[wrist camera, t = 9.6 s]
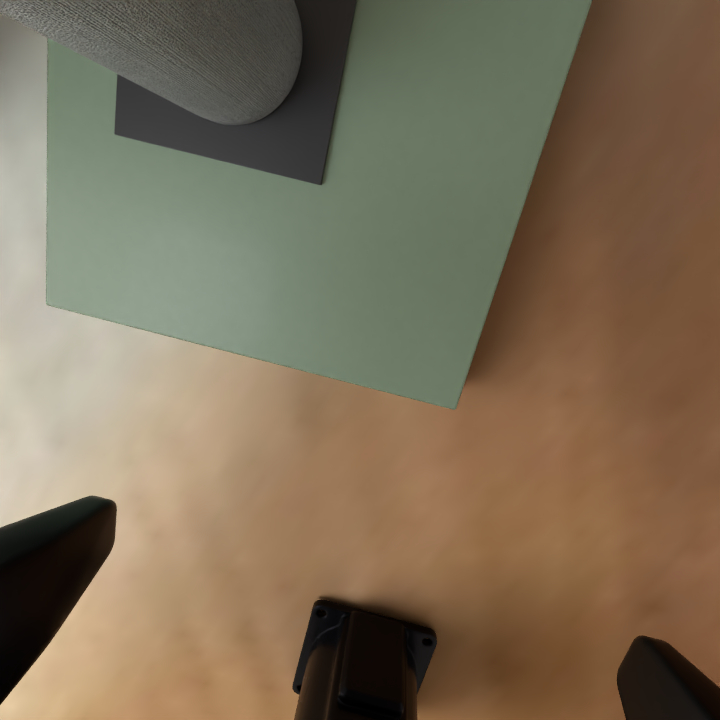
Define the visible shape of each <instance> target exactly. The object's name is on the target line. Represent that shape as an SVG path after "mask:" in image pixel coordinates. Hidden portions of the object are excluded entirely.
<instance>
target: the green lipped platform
mask: <svg viewBox="0 0 720 720" xmlns="http://www.w3.org/2000/svg"><path fill="white" fill-rule="evenodd" d="M294 2H295V4H296V7H297V10H298V14H299V17H300V22H301V28H302V39H303V46H302V58H301V63H300V67H299V71H298V74H297V77H296V80H295V82H294V84H293V86H292V88H291V90H290V92H289V93H288V95H287V96H286V98H285V99H284V100H283V102H282V103H281V104H280V105H279V106H278V107H277V108H276V109H275V110H274V111H272V112H271V113H270V114H268V115H267V116H265V117H264V118H262V119H260V120H258V121H255V122H252V123H249V124H244V125H224V124H219V123H216V122H213V121H210V120H208V119H205V118H202V117H200V116H198V115H196V114H194V113H192V112H190V111H188V110H186V109H184V108H182V107H180V106H178V105H176V104H175V103H173V102H171V101H169V100H167V99H165V98H163V97H161V96H159V95H157V94H155V93H153V92H151V91H149V90H148V89H146V88H144V87H142V86H140V85H138V84H136V83H134V82H132V81H130V80H128V79H126V78H124V77H122V76H121V75H119V74H117V73H115V72H113V71H111V70H109V69H107V68H105V67H103V66H101V65H99V64H97V63H95V62H94V61H92V60H90V59H88V58H86V57H84V56H82V55H80V54H78V53H76V52H74V51H72V50H70V49H68V48H67V47H65V46H63V45H61V44H59V43H57V42H55V41H53V40H51V39H49V38H48V74H47V246H46V304H47V305H49V306H52V307H56V308H60V309H64V310H68V311H72V312H76V313H80V314H84V315H87V316H91V317H95V318H99V319H103V320H107V321H111V322H115V323H119V324H122V325H126V326H130V327H134V328H138V329H142V330H146V331H150V332H154V333H158V334H161V335H165V336H169V337H173V338H177V339H181V340H185V341H189V342H193V343H196V344H200V345H204V346H208V347H212V348H216V349H220V350H224V351H228V352H231V353H235V354H239V355H243V356H247V357H251V358H255V359H259V360H263V361H267V362H270V363H274V364H278V365H282V366H286V367H290V368H294V369H298V370H302V371H305V372H309V373H313V374H317V375H321V376H325V377H329V378H333V379H337V380H340V381H344V382H348V383H352V384H356V385H360V386H364V387H368V388H372V389H376V390H379V391H383V392H387V393H391V394H395V395H399V396H403V397H407V398H411V399H414V400H418V401H422V402H426V403H430V404H434V405H438V406H442V407H446V408H450V409H453V410H455V409H456V407H457V404H458V401H459V398H460V395H461V392H462V389H463V386H464V383H465V380H466V377H467V374H468V371H469V368H470V365H471V362H472V359H473V356H474V353H475V350H476V347H477V344H478V341H479V338H480V335H481V333H482V330H483V327H484V324H485V321H486V318H487V315H488V312H489V309H490V306H491V303H492V300H493V297H494V294H495V291H496V288H497V285H498V282H499V279H500V276H501V273H502V270H503V267H504V264H505V261H506V258H507V255H508V252H509V249H510V246H511V243H512V240H513V237H514V234H515V231H516V228H517V225H518V222H519V219H520V216H521V213H522V210H523V207H524V204H525V201H526V198H527V195H528V192H529V189H530V186H531V183H532V180H533V177H534V174H535V171H536V168H537V165H538V162H539V159H540V156H541V153H542V150H543V147H544V144H545V141H546V138H547V135H548V132H549V129H550V126H551V123H552V120H553V117H554V114H555V111H556V108H557V105H558V102H559V99H560V96H561V93H562V90H563V87H564V84H565V81H566V78H567V75H568V72H569V69H570V66H571V63H572V60H573V57H574V54H575V51H576V48H577V45H578V42H579V39H580V36H581V33H582V30H583V27H584V24H585V21H586V18H587V15H588V12H589V9H590V6H591V3H592V0H294Z"/></svg>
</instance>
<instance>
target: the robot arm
mask: <svg viewBox="0 0 720 720" xmlns="http://www.w3.org/2000/svg"><path fill="white" fill-rule="evenodd" d="M116 512H117V507H116V503H115V502H114V501H112V500H109V499H105V498H102V497H98V496H88V497H85V498H82V499H79V500H76V501H74V502H71V503H68V504H65V505H62V506H60V507H57V508H54V509H51V510H48V511H46V512H43V513H40V514H37V515H34V516H32V517H29V518H26V519H23V520H20V521H18V522H15V523H12V524H9V525H6V526H4V527H1V528H0V705H1V703H2V702H3V701H4V700H5V698H6V697H7V696H8V695H9V693H10V692H11V691H12V690H13V688H14V687H15V686H16V685H17V684H18V682H19V681H20V680H21V679H22V677H23V676H24V675H25V674H26V672H27V671H28V670H29V669H30V667H31V666H32V665H33V664H34V662H35V661H36V660H37V659H38V657H39V656H40V655H41V653H42V652H43V651H44V650H45V648H46V647H47V646H48V644H49V643H50V642H51V640H52V639H53V637H54V636H55V634H56V633H57V632H58V630H59V629H60V627H61V626H62V624H63V623H64V621H65V620H66V618H67V617H68V615H69V614H70V612H71V611H72V609H73V608H74V606H75V605H76V603H77V602H78V600H79V599H80V597H81V596H82V594H83V593H84V591H85V590H86V588H87V587H88V585H89V584H90V582H91V581H92V579H93V578H94V576H95V575H96V573H97V572H98V570H99V569H100V567H101V566H102V564H103V563H104V561H105V560H106V558H107V557H108V555H109V554H110V552H111V550H112V547H113V545H114V540H115V527H116ZM321 610H324V611H321ZM425 638H429V639H425ZM436 645H437V636H436V633H435V631H434V630H433V629H431V628H428V627H424V626H420V625H417V624H413V623H409V622H405V621H402V620H398V619H394V618H391V617H387V616H383V615H379V614H376V613H372V612H368V611H365V610H361V609H357V608H353V607H350V606H346V605H342V604H339V603H335V602H331V601H327V600H322V599H321V600H317V601H316V602H315V603H314V605H313V609H312V613H311V617H310V621H309V624H308V628H307V632H306V636H305V640H304V644H303V647H302V651H301V655H300V659H299V663H298V666H297V670H296V674H295V678H294V682H293V690H294V692H295V693H297V694H299V695H300V696H299V700H298V705H297V709H296V713H295V718H294V720H417V693H418V691H419V688H420V686H421V683H422V681H423V678H424V676H425V673H426V670H427V668H428V665H429V663H430V660H431V658H432V655H433V653H434V650H435V647H436ZM617 686H618V690H619V694H620V698H621V702H622V706H623V710H624V713H625V717H626V720H720V688H719V687H718V686H717V685H716V684H715V683H713V682H712V681H711V680H710V679H709V678H708V677H707V676H705V675H704V674H703V673H702V672H701V671H700V670H699V669H697V668H696V667H695V666H694V665H693V664H692V663H691V662H689V661H688V660H687V659H686V658H685V657H684V656H683V655H681V654H680V653H679V652H678V651H677V650H676V649H675V648H673V647H672V646H671V645H670V644H669V643H667V642H665V641H663V640H659V639H655V638H651V637H647V636H638V637H636V638H635V639H634V640H633V642H632V644H631V646H630V648H629V650H628V652H627V653H626V655H625V657H624V659H623V661H622V663H621V665H620V667H619V669H618V673H617Z"/></svg>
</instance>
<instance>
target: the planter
mask: <svg viewBox="0 0 720 720" xmlns="http://www.w3.org/2000/svg"><path fill="white" fill-rule="evenodd" d="M0 13H1V14H3V15H5V16H7V17H9V18H11V19H13V20H14V21H16V22H18V23H20V24H22V25H24V26H26V27H28V28H30V29H32V30H34V31H36V32H38V33H40V34H41V35H43V36H45V37H47V38H49V39H51V40H53V41H55V42H57V43H59V44H61V45H63V46H65V47H67V48H68V49H70V50H72V51H74V52H76V53H78V54H80V55H82V56H84V57H86V58H88V59H90V60H92V61H94V62H95V63H97V64H99V65H101V66H103V67H105V68H107V69H109V70H111V71H113V72H115V73H117V74H119V75H121V76H122V77H124V78H126V79H128V80H130V81H132V82H134V83H136V84H138V85H140V86H142V87H144V88H146V89H148V90H149V91H151V92H153V93H155V94H157V95H159V96H161V97H163V98H165V99H167V100H169V101H171V102H173V103H175V104H176V105H178V106H180V107H182V108H184V109H186V110H188V111H190V112H192V113H194V114H196V115H198V116H200V117H202V118H205V119H208V120H210V121H213V122H216V123H219V124H224V125H244V124H249V123H252V122H255V121H258V120H260V119H262V118H264V117H265V116H267V115H268V114H270V113H271V112H272V111H274V110H275V109H276V108H277V107H278V106H279V105H280V104H281V103H282V102H283V100H284V99H285V98H286V96H287V95H288V93H289V92H290V90H291V88H292V86H293V84H294V82H295V80H296V77H297V74H298V71H299V67H300V63H301V58H302V46H303V39H302V28H301V22H300V17H299V14H298V10H297V7H296V4H295V2H294V0H0Z"/></svg>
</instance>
